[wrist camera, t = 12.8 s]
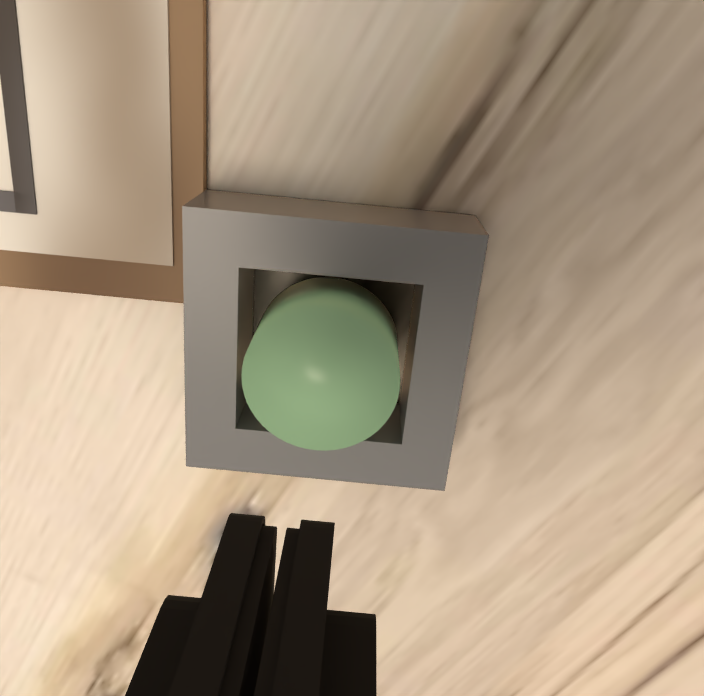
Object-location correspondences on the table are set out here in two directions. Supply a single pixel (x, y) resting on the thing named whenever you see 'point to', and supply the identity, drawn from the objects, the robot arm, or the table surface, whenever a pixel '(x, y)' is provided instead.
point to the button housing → (339, 261)
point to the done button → (323, 365)
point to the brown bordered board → (100, 143)
